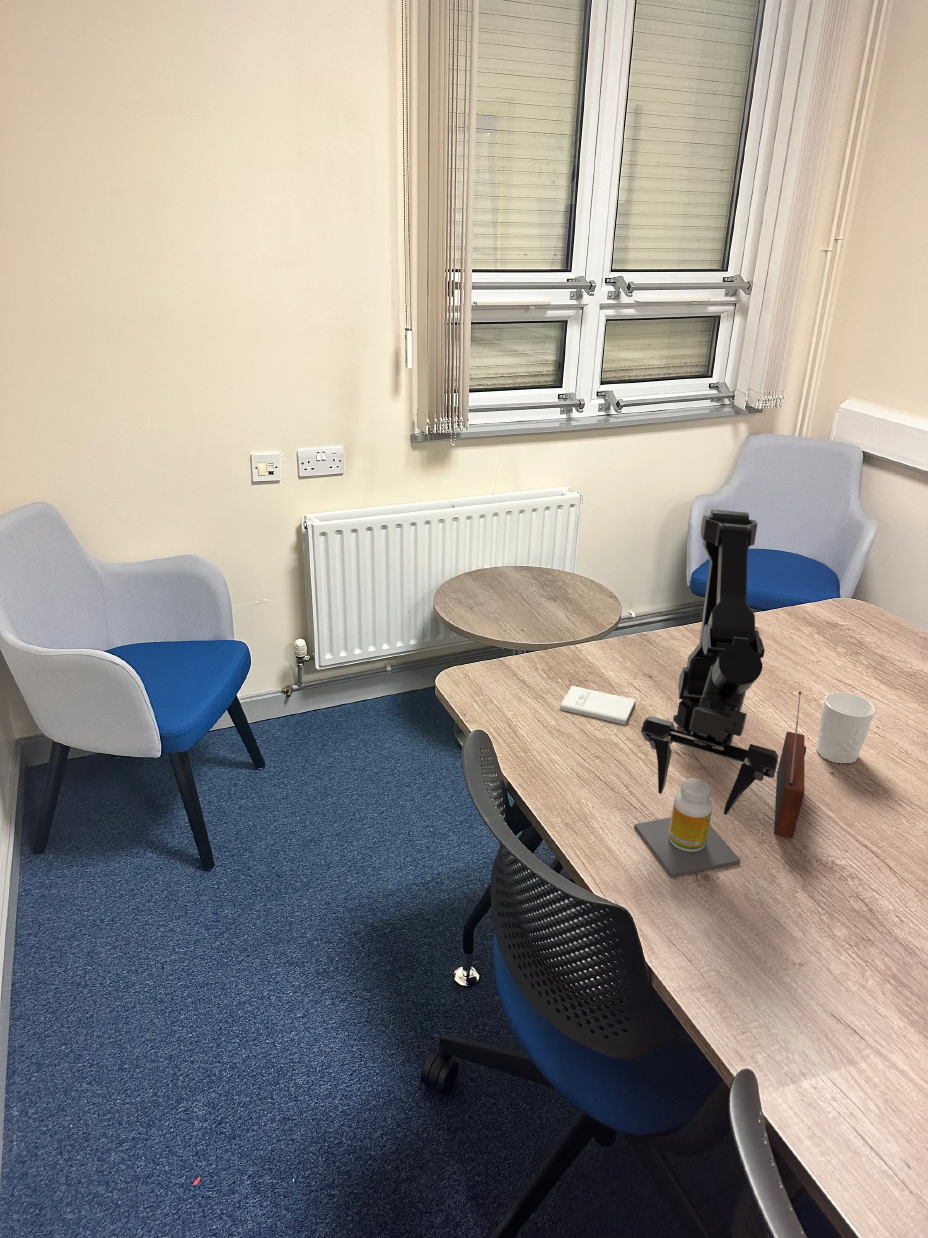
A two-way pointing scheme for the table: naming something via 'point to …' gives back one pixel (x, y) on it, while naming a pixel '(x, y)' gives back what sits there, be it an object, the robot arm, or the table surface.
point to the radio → (790, 783)
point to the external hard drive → (598, 705)
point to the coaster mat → (683, 861)
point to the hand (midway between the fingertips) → (691, 803)
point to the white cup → (843, 726)
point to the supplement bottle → (691, 816)
